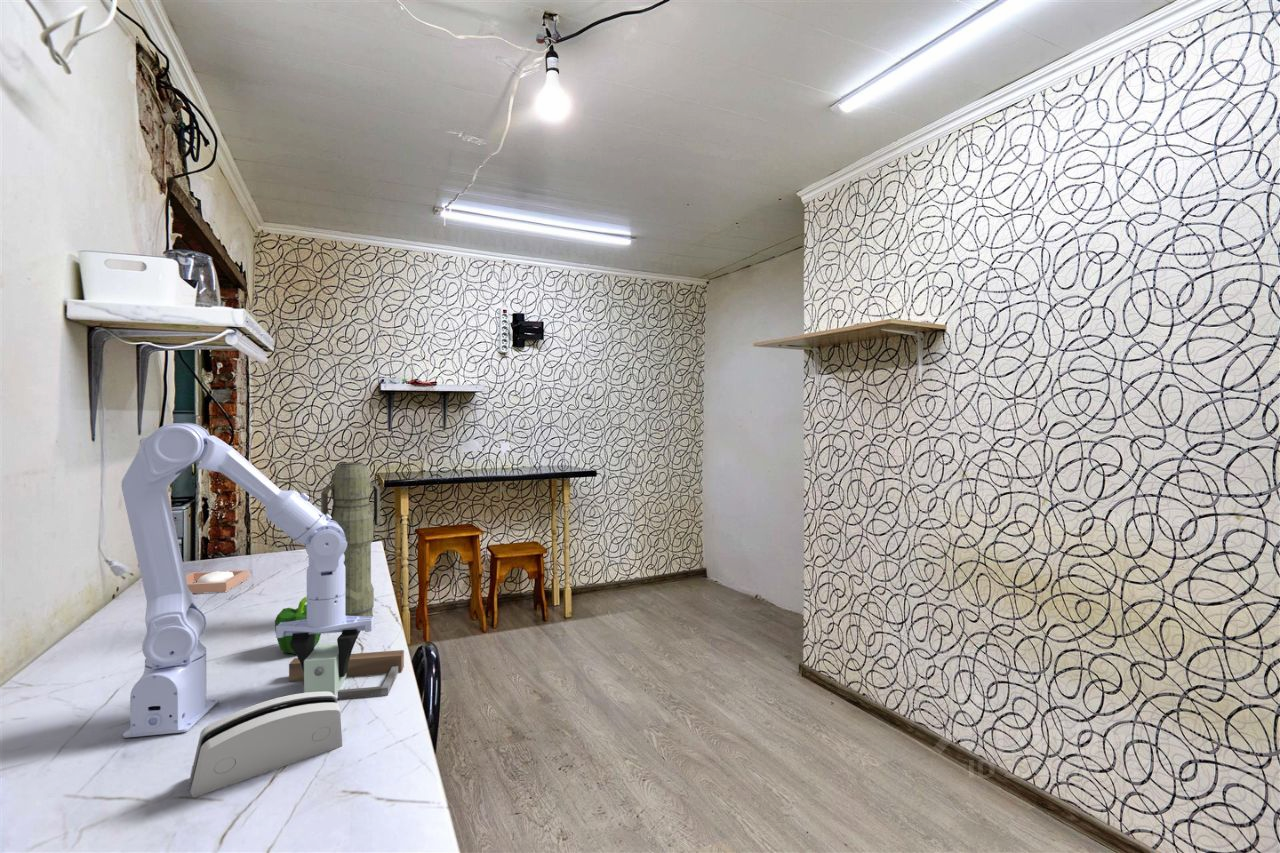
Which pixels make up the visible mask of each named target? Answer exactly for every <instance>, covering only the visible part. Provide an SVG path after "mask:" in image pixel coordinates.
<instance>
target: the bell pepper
mask: <svg viewBox="0 0 1280 853" xmlns="http://www.w3.org/2000/svg"><path fill="white" fill-rule="evenodd" d="M304 619H307V596H305V597H303V598H302V599H301V600H300V601H299V603H298V607H297V608H291V607H287V608H282V609H281V611H280V612H279V613H278V614H277V615H276V618H275V620H274V631H275V633H276V626H277V625H278V624H280V623H281V622H290V621H297V620H304ZM321 635H322V634H316V635H315V644H314V648H316V647H317V645H318V644H319V642H320V639H321ZM276 639H277V643H278V646H279V648H280V650H281V651H282V653H284V654H289V653H291V654H294V655H296V654H295V652H294V651H293V650H292V648H291V647H290V641H291V640H292V636H284V637H282V638H276Z"/></svg>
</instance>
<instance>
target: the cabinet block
mask: <svg viewBox="0 0 1280 853" xmlns="http://www.w3.org/2000/svg"><path fill="white" fill-rule="evenodd" d="M347 678H348V677H347V673H346V674H345V676H344V677H339V649H338V643H337V642H334V643H333V642H332V643H320V644H319V643H317V645H316V646H315V647H314V650H313V651H312V652H311V653H310V655H309V656H308V657H307V658H306V659H305V660H304V680H303V693H307V692H324V691H328V692H332V693H333V694H334V696H336V695H337V694H338V691H339V690H340V689H341V687H342V685H343V683H344V682H345V680H346V679H347Z"/></svg>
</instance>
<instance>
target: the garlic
mask: <svg viewBox="0 0 1280 853" xmlns="http://www.w3.org/2000/svg"><path fill="white" fill-rule="evenodd" d="M220 571H221V570H217V571H216V572H212V571H211V572H212V573H208V574H205V575H203V576H202V577H200V578H199V579H198V582H197V583H210V582H224V581H226V580H228V579H230V578H232V577H233V576H234V575H233V573H232V572H229V571H230V570H226V571H227V572H220Z"/></svg>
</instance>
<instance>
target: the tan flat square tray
mask: <svg viewBox="0 0 1280 853" xmlns="http://www.w3.org/2000/svg"><path fill="white" fill-rule="evenodd" d="M219 571H220V572H227V571H229V572H232V573H233V575H234V576H233V577H232V578H230V579H228V580H226V581H224V582H210V583H198V582H194V581H198V579H199V578H200V577H202V576H203V575H205V574H208V573H212V572H216V571H215V570H213V571H194V572H193V571H192V572H190V573H187V574H185V575H186V580H187V585H188V588H189V590H190V591H191V593H204V592H224V593H226V592H225V591H228V590H229V589H231V588H233V587H234V586H236V585H238V584H239V583H241V582H243V581H244V580H246V579H247V578H249V579H250V570H249V569H238V570H219ZM246 581H247V580H246ZM192 582H194V583H192ZM244 582H245V581H244ZM244 582H243V583H244ZM241 584H242V583H241ZM239 585H240V584H239ZM239 585H238V586H239ZM236 587H237V586H236ZM234 588H235V587H234ZM234 588H233V589H234ZM231 590H232V589H231ZM229 591H230V590H229ZM229 591H228V592H229Z"/></svg>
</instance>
